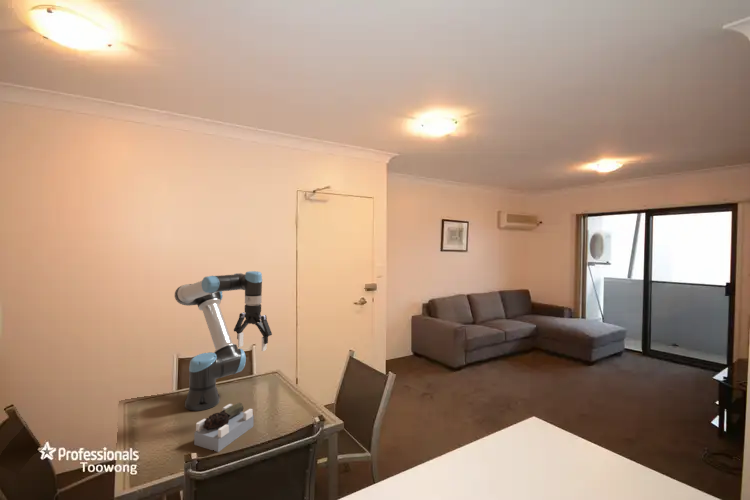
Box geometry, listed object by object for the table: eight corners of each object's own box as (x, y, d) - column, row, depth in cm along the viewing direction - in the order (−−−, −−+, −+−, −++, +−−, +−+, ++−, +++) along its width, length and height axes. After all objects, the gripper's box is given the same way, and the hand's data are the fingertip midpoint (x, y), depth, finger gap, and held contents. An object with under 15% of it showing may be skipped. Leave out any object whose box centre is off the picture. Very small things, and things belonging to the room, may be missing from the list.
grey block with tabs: (193, 444, 138) (194, 424, 138) (230, 420, 157) (231, 402, 157) (218, 452, 134) (219, 431, 134) (253, 426, 153) (254, 408, 153)
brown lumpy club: (234, 411, 156) (235, 398, 156) (246, 414, 153) (247, 401, 153) (201, 430, 139) (201, 416, 139) (213, 434, 137) (214, 420, 137)
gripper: (226, 302, 168) (225, 347, 169) (270, 308, 160) (269, 354, 160) (237, 300, 175) (236, 342, 176) (280, 305, 167) (279, 349, 167)
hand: (252, 348), depth 168 cm, fingers open, 13 cm apart
